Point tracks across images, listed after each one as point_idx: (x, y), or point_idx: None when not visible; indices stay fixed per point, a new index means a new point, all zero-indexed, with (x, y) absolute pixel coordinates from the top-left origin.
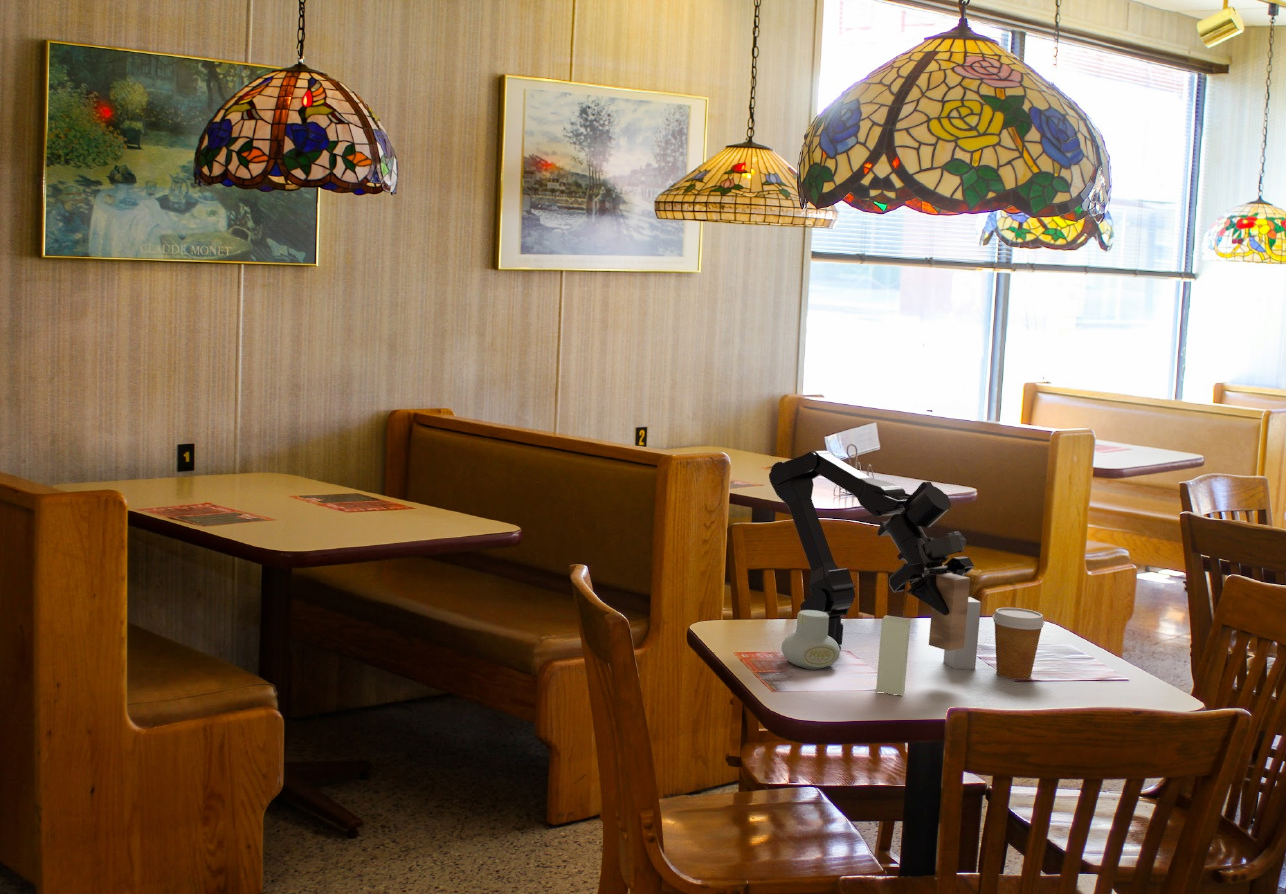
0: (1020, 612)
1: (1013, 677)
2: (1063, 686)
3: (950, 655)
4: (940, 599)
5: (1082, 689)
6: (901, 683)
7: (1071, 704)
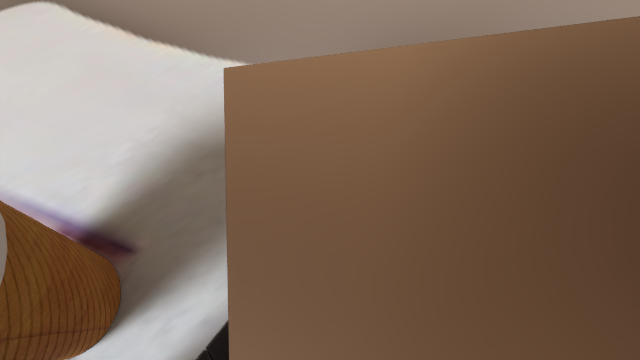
0: None
1: (113, 267)
2: (63, 165)
3: None
4: None
5: (49, 132)
6: None
7: (193, 67)
